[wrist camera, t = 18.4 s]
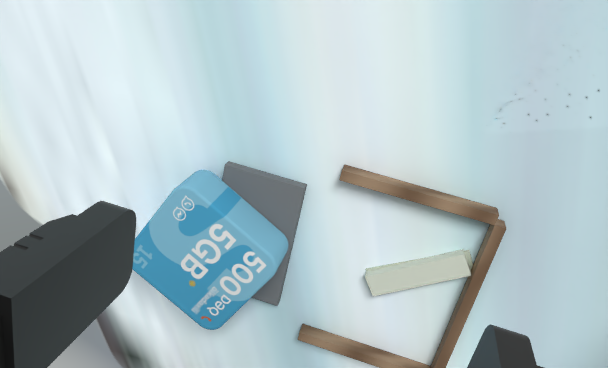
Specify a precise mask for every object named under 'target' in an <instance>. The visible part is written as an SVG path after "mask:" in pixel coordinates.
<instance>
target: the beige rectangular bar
mask: <svg viewBox="0 0 608 368" xmlns="http://www.w3.org/2000/svg"><path fill="white" fill-rule="evenodd" d="M472 266H473V262H472V259H471V255H470V251H469V250H466V251H464V249H462V250H457V251H453V252H449V253H444V254H440V255H436V256H431V257H427V258H421V259H416V260H410V261H405V262H399V263H394V264H388V265H383V266H377V267H372V268H366V275H365V278H366V281H367V283H368V286H369V288H370V291H371V293H372V295H373V296H378V295H382V294H387V293H392V292H397V291H401V290H406V289H411V288H415V287H420V286H425V285H430V284H434V283H439V282H444V281H448V280H453V279H458V278H462V277H467V276H471V269H472Z"/></svg>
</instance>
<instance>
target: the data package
mask: <svg viewBox="0 0 608 368" xmlns="http://www.w3.org/2000/svg"><path fill="white" fill-rule="evenodd" d="M287 250H288V240H287V238H286V236H285V235H284V234H283V233H282V232H281V231H280V230H279V229H278V228H276V227H275V226H274V225H273V224H272V223H271V222H269V221H268V220H267V219H266V218H265V217H264V216H262V215H261V214H260V213H259V212H258V211H257V210H256V209H254V208H253V207H252V206H251V205H250V204H249V203H247V202H246V201H245V200H244V199H243V198H242V197H241V196H239V195H238V194H237V193H236V192H235V191H234V190H232V189H231V188H230V187H229V186H228V185H227V184H226V183H224V182H223V181H222V180H221V179H220V178H219V177H217V176H216V175H215V174H214V173H212V172H210V171H208V170H199V171H196V172H195V173H193V174H192V175H191V176H190V177H189V178H187V179H186V180H185V181H184V182H182V183H181V184H180V185H179V186H177V187H176V188H175V189H174V190H173V191H172V193H171V194H170V195H169V196H168V198H167V199H166V200H165V201H164V203H163V204H162V205H161V207H160V208H159V209H158V210H157V212H156V213H155V214H154V216H153V217H152V218H151V219H150V221H149V222H148V223H147V224H146V226H145V227H144V228H143V230H142V231H141V232H140V233H139V235H138V236H137V237H136V239H135V243H134V256H133V268H132V269H133V270H134V271H135V272H137V273H138V274H139V275H140V276H141V277H143V278H144V279H145V280H146V281H147V282H149V283H150V284H151V285H152V286H153V287H155V288H156V289H157V290H158V291H159V292H161V293H162V294H163V295H164V296H165V297H167V298H168V299H169V300H170V301H171V302H173V303H174V304H175V305H176V306H177V307H179V308H180V309H181V310H182V311H183V312H185V313H186V314H187V315H188V316H189V317H191V318H192V319H193V320H194V321H195V322H197V323H198V324H199V325H200V326H202V327H203V328H206V329H210V330H215V329H218V328H220V327H221V326H222V325H223V324H224V323H225V322H226V321H227V320H228V319H229V318H231V317H232V316H233V315H234V314H235V313H236V312H237V311H238V310H239V309H240V308H241V307H242V306H243V305H244V304H245V303H246V302H247V301H248V300H249V299H250V298H251V297H252V296H253V295H254V294H255V293H256V292H257V291H258V290H259V289H260V288H261V287H262V286H263V285H265V284H266V283H267V282H268V281H269V280H270V279H271V278H272V277H273V276H274V275H275V273H276V271H277V269H278V267H279V266H280V264H281V262H282V260H283V258H284V256H285V254H286V253H287Z"/></svg>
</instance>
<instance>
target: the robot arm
mask: <svg viewBox="0 0 608 368" xmlns="http://www.w3.org/2000/svg"><path fill="white" fill-rule="evenodd" d="M135 230H136V215H135V212H134V211H133V210H130V209H127V208H124V207H120V206H117V205H114V204H111V203H108V202H105V201H100V202H97V203H96V204H94V205H93V206H91V207H90V208H88V209H87V210H85V211H84V212H82V213H81V214H79V215H78V216H76V215H73V214H72V215H69V216H65V217H62V218H59V219H56V220H52V221H49V222H47V223H46V224H44V225H42V226H41V227H39V228H38V229H36V230H34V231H33V232H31V233H30V235H29V236H25V237H23V238H22V239H20V240H19V241H17V242H16V243H15V244H14V246H9V247H8V248H6V249H4V250H3V251H1V252H0V368H47V367H48V366H49V365H50V364H51V363H52V362H53V361H54V360H55V359H56V358H57V357H58V356H59V355H60V354H61V353H62V352H63V351H64V350H65V349H66V348H67V347H68V346H69V345H70V344H71V343H72V342H73V341H74V340H75V339H76V338H77V337H78V336H79V335H80V334H81V333H82V332H83V331H84V330H85V329H86V328H87V327H88V326H89V325H90V324H91V323H92V322H93V321H94V320H95V319H96V318H97V317H98V316H99V315H100V314H101V313H102V312H103V311H104V310H105V309H106V308H107V307H108V306H109V305H110V304H111V303H112V302H113V301H114V300H115V299H116V298H117V297H118V296H119V295H120V294H121V292H122V291H123V290H124V288H125V287H126V285H127V283H128V281H129V279H130V276H131V273H132V268H133V256H134V243H135ZM467 368H543V367H540V366H537V365H536V361H535V357H534V354H533V350H532V346H531V343H530V340H529V338H528V337H527V336H525V335H522V334H519V333H516V332H513V331H509V330H506V329H503V328H500V327H497V326H494V325H489V326H487V328H486V329H485V331H484V333H483V335H482V337H481V339H480V341H479V343H478V345H477V348H476V350H475V352H474V354H473V356H472V358H471V361H470V363H469V365H468V367H467Z"/></svg>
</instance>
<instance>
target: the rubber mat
mask: <svg viewBox="0 0 608 368" xmlns="http://www.w3.org/2000/svg"><path fill="white" fill-rule="evenodd" d="M222 181H223V182H224V183H226V184H227V185H228V186H229V187H230V188H231V189H232V190H234V191H235V192H236V193H237V194H238V195H239V196H241V197H242V198H243V199H244V200H245V201H246V202H247V203H249V204H250V205H251V206H252V207H253V208H254V209H256V210H257V211H258V212H259V213H260V214H261V215H262V216H264V217H265V218H266V219H267V220H268V221H269V222H271V223H272V224H273V225H274V226H275V227H276V228H278V229H279V230H280V231H281V232H282V233H283V234H284V235H285V236H286V238H287V240H288V250H287V253H286V254H285V256H284V258H283V260H282V262H281V264H280V266H279V267H278V269H277V271H276V273H275V275H274V276H273V277H272V278H271V279H270V280H269V281H268V282H267V283H266V284H265V285H263V286H262V287H261V288H260V289H259V290H258V291H257V292H256V293H255V294H254V295H253V296H252V298H255V299H258V300H261V301H264V302H267V303H270V304H273V305H276V306H278V303H279V301H280V298H281V294H282V289H283V285H284V281H285V276H286V272H287V268H288V264H289V259H290V255H291V251H292V246H293V242H294V238H295V233H296V229H297V225H298V221H299V216H300V212H301V208H302V203H303V199H304V195H305V190H306V186H307V184H304V183H301V182H297V181H294V180H290V179H287V178H284V177H280V176H277V175H273V174H270V173H266V172H263V171H260V170H256V169H253V168H249V167H246V166H243V165H239V164H236V163H232V162H227V163H226V164H225V167H224V174H223V180H222Z"/></svg>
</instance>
